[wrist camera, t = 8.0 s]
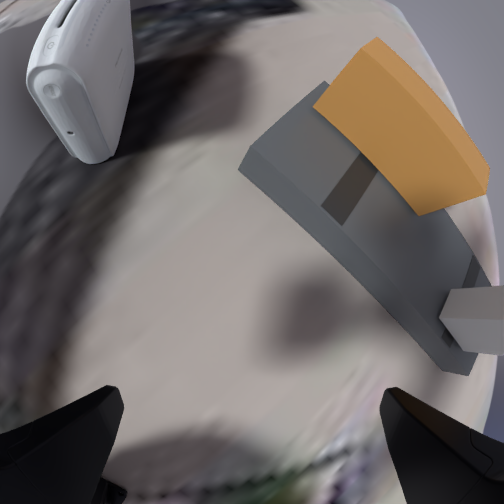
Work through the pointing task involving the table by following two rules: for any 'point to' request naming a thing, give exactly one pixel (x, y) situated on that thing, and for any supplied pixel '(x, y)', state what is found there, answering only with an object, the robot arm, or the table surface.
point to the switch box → (367, 225)
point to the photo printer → (84, 74)
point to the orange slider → (404, 130)
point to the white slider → (476, 318)
